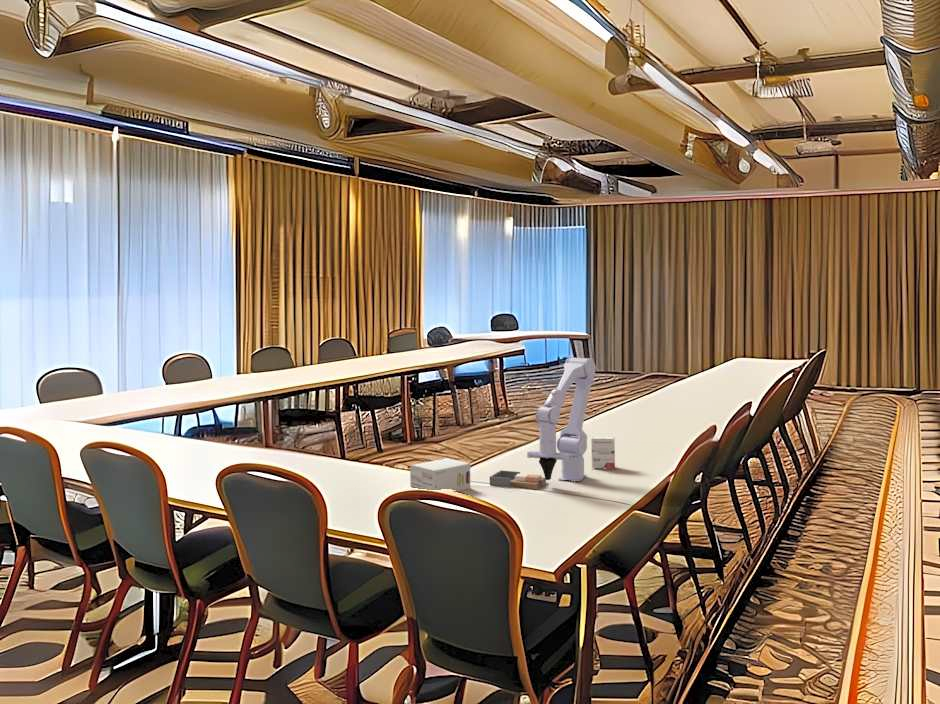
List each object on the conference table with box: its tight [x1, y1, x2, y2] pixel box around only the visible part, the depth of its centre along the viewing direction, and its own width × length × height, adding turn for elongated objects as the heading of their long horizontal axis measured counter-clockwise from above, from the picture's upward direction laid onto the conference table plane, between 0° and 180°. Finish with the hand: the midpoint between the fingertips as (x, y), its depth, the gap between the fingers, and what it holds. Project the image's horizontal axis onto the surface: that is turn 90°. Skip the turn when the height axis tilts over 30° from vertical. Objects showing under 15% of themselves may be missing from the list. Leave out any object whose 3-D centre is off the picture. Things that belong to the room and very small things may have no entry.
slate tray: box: [489, 470, 521, 488], centre depth 305 cm, size 10×8×3 cm
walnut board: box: [509, 476, 547, 490], centre depth 301 cm, size 10×10×2 cm
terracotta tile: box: [527, 474, 542, 482], centre depth 299 cm, size 4×4×2 cm
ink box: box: [590, 436, 616, 470], centre depth 325 cm, size 9×5×12 cm, turn 77°
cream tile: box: [515, 473, 530, 481], centre depth 301 cm, size 4×4×2 cm
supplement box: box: [409, 457, 471, 492], centre depth 296 cm, size 17×13×9 cm
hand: (548, 479), depth 297 cm, fingers closed
